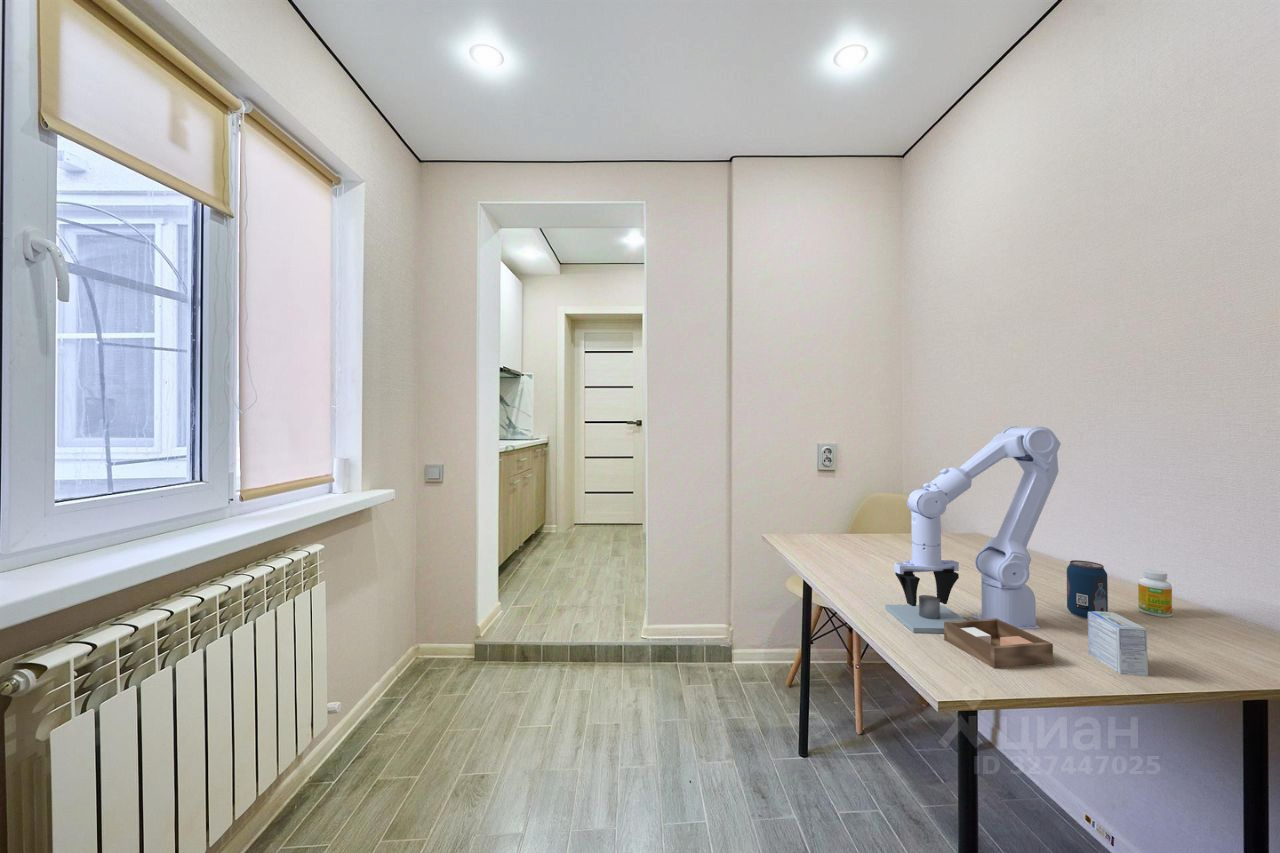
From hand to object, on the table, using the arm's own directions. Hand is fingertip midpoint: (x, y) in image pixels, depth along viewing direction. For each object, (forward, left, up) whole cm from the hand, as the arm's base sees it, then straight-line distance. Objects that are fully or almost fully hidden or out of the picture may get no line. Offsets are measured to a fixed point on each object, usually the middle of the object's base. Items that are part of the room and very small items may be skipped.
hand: (926, 603), depth 110 cm
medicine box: (-19, +24, -4) cm, 31 cm away
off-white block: (+1, +13, -3) cm, 14 cm away
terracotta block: (-4, +18, -3) cm, 19 cm away
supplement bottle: (-55, +4, -4) cm, 55 cm away
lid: (0, +1, -3) cm, 4 cm away
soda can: (-38, +3, -4) cm, 38 cm away
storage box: (-2, +16, -4) cm, 17 cm away
